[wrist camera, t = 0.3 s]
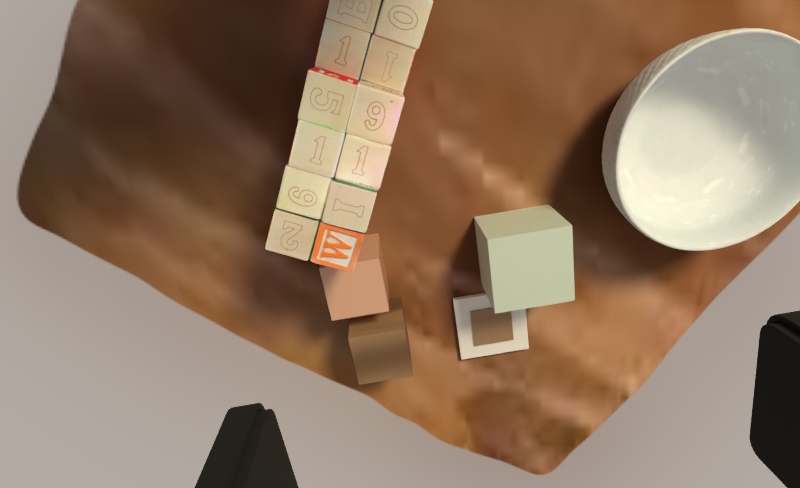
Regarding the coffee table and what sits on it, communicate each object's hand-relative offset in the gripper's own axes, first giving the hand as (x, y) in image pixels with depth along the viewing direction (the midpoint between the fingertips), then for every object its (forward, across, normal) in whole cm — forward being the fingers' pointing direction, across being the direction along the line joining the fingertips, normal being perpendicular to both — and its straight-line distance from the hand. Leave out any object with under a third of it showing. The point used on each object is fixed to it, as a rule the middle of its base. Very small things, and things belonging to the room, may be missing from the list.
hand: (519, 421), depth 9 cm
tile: (+36, -5, +20) cm, 41 cm away
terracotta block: (+36, +7, +10) cm, 38 cm away
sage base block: (+36, -8, +12) cm, 39 cm away
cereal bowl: (+36, -23, +4) cm, 43 cm away
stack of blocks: (+36, +4, -5) cm, 36 cm away
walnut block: (+36, +6, +17) cm, 40 cm away
